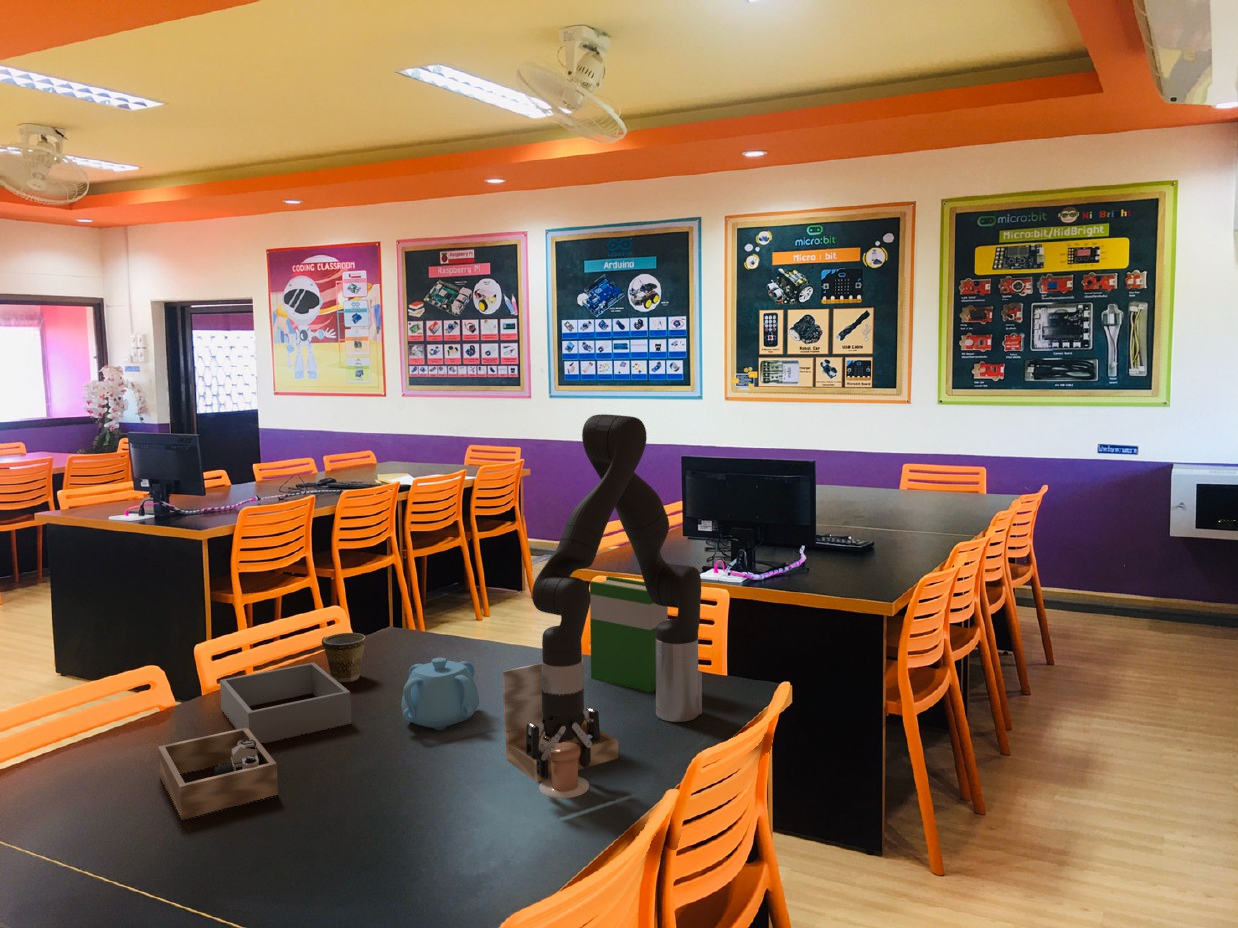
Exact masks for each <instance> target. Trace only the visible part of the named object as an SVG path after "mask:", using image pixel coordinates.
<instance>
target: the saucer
mask: <svg viewBox="0 0 1238 928" xmlns="http://www.w3.org/2000/svg"><path fill="white" fill-rule="evenodd" d="M538 788H539V789H538V790H539V791H540V793H542V794H543V795H545V796H547V797H550V798H554V799H555V798H556V799H569V798H575V797H578V796H581V795H583V794H585V793H587V791H588V790H589V789H590V783H589V782H588V781H587V779H585V778H583V777H581V776H578V787H577V788H576V789H574V790H572V791H567V792H561V791H556V790H554V789H553V788H552V777H551V778H548V779H546V780H543V781H541V782H540V783H539V787H538Z"/></svg>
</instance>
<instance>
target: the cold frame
mask: <svg viewBox="0 0 1238 928" xmlns="http://www.w3.org/2000/svg"><path fill="white" fill-rule="evenodd" d="M584 661H585V660H584V654H583V653H582V667H583V679H584V680H585V675H584V674H585V671H584V669H585V668H584V666H585V664H584ZM542 663H543V662H538V663H535V664H531V665H530V664H529V665H525V666H520V667H516V668H511V669H506V670H503V671H502V686H503V687H502V692H503V693H502V697H503V732H504V733H505V753H506V755H505V757H506V761H507V762H508V763H509V764H511V765H512V766H514V767H515V768H517V769H518V770H520V771H521V772H522V773H524V774H525V775H527V776H528V778H531V779H532V780H533V781H535V782H537V783H541V782H543V781H544V780H543V779H542V778H540V776H539V775H537V769H536V760H534V759H532V758H531V757H530V756H528V755H526V728H527V724H528V723H529V722H531V723H533V724H536V723H541V722H542V719H543V712H542V682H541V673H542ZM583 682H584V683H585V681H583ZM583 711H585V708H584V709H583ZM581 729H582V730H583V731H584V733H585V734H586V735H587V721H586V720H584V722H583V724H582V726H581ZM543 733H544V730H542V731H541V735H540V736H539V744H540V738H541V737H542V735H543ZM550 741H551V739H550V738H549V739H548V742H550ZM564 742H571V743H575V744H578V745H581V743H580V742H579V741H578V740H577V739H576V738H575V737H574V739H573V740H566V741H564ZM547 759H548V778H551V759H550V758H549V757H547ZM616 759H619V740H617V739H616V738H614V737H612V736H611V735H609V734H607V733H606V732H603V731H602V730H600V740H599V741H598V742H594V743H593V744H592V746H591V761H590V763H589V766H588V767H586V768H584V767H582V766H581V765H580V764H579V758H578V771H579V770H583V769H587V768H590V767H593V766H596V765H601V764H604V763H606V762H610V761H613V760H616Z"/></svg>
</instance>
